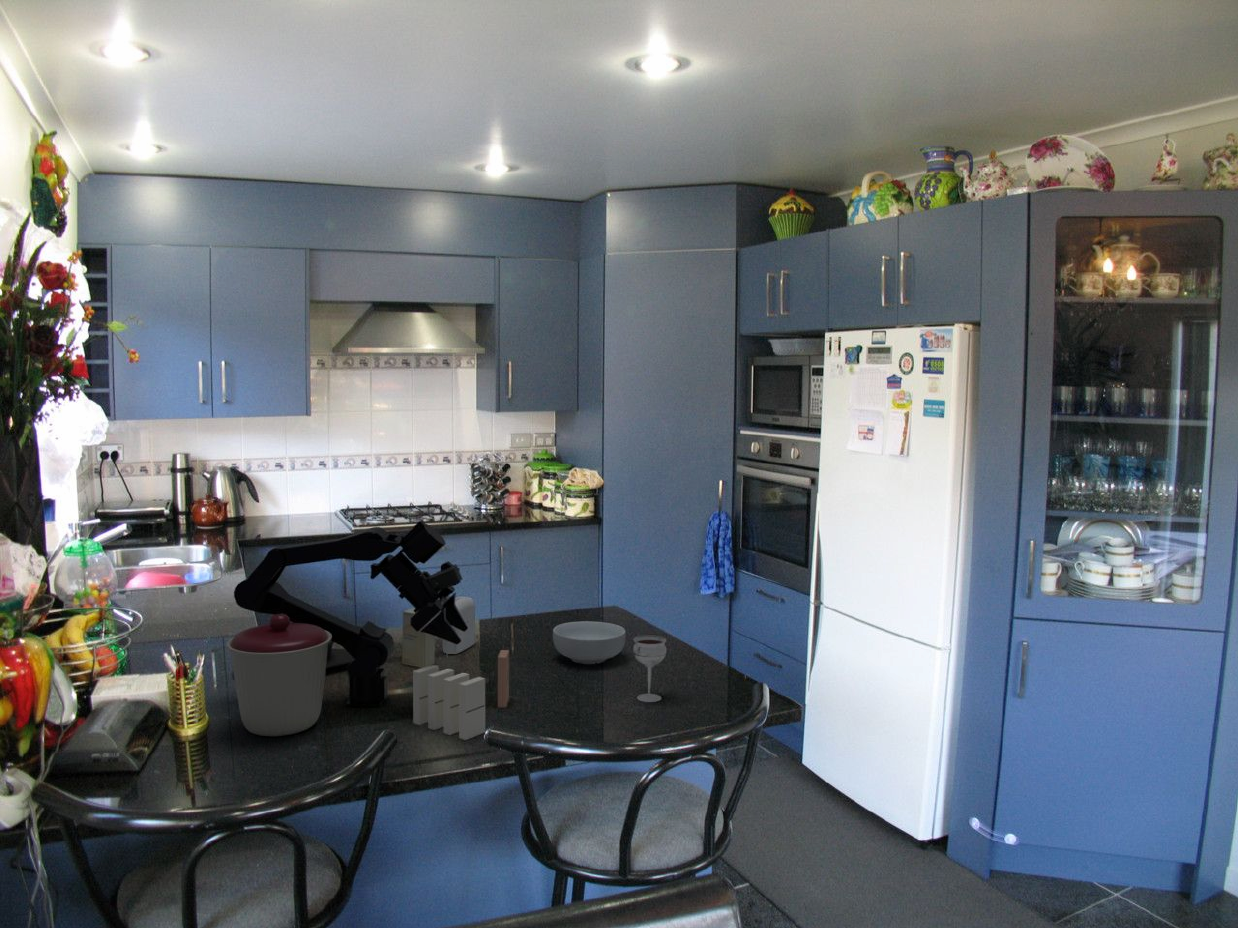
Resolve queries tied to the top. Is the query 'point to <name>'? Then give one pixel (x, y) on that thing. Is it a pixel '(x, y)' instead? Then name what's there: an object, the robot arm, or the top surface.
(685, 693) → the top surface
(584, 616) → the top surface
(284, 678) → the canister
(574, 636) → the cereal bowl
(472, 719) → the domino
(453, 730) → the domino
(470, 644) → the photo printer
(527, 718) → the top surface
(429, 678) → the domino
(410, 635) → the skincare box
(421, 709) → the domino
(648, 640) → the wineglass
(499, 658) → the domino
